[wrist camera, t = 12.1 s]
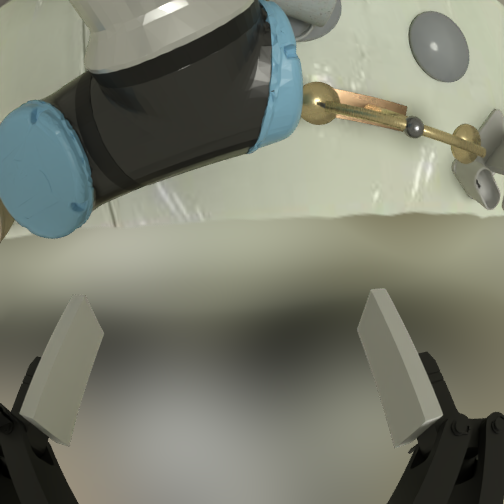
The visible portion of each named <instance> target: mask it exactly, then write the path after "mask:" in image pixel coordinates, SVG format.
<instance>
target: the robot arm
mask: <svg viewBox="0 0 504 504" xmlns="http://www.w3.org/2000/svg"><path fill="white" fill-rule="evenodd" d="M69 1H70V3H71V4H72V5H73V7H74V8H75V10H76V11H77V13H78V14H79V15H80V17H81V18H82V20H83V21H84V22H85V24H86V25H87V27H88V28H89V29H90V38H89V42H88V45H87V49H86V53H85V57H84V65H85V67H86V68H87V70H88V71H86V72H85V73H83V74H82V75H80V76H78V77H77V78H75V79H74V80H72V81H71V82H69V83H68V84H66V85H65V86H63V87H62V88H61V89H59V90H58V91H56V92H55V93H53V94H51V95H50V96H48V97H46V98H44V99H42V100H32V101H28V102H27V103H24V104H22V105H21V106H20V107H19V108H17V109H15V110H13V111H12V112H11V113H9V114H8V115H7V116H6V117H5V119H4V120H3V121H2V123H1V124H0V198H1V200H2V202H3V204H4V206H5V207H6V209H7V210H8V212H9V213H10V214H11V216H12V217H13V218H14V219H15V220H16V221H17V222H18V223H19V224H20V225H21V226H22V227H26V228H27V229H28V230H29V231H30V232H31V233H33V234H35V235H38V236H40V237H44V238H51V239H53V238H61V237H64V236H67V235H69V234H70V233H72V232H73V231H74V230H75V229H77V228H79V227H81V226H82V224H84V223H85V222H86V220H88V218H89V216H90V214H91V212H92V211H93V210H95V209H96V208H98V207H99V206H101V205H102V204H104V203H106V202H108V201H111V200H113V199H115V198H118V197H120V196H122V195H125V194H127V193H129V192H132V191H134V190H136V189H139V188H141V187H144V186H146V185H151V184H154V183H156V182H159V181H162V180H165V179H167V178H170V177H173V176H176V175H179V174H182V173H185V172H188V171H191V170H194V169H197V168H200V167H203V166H206V165H209V164H213V163H216V162H219V161H222V160H226V159H229V158H233V157H236V156H239V155H243V154H250V153H253V152H254V151H256V150H257V149H258V148H261V147H264V146H267V145H270V144H272V143H275V142H278V141H281V140H283V139H285V138H287V137H289V136H290V135H291V134H292V133H293V132H294V130H295V129H296V127H297V125H298V123H299V120H300V117H301V113H302V106H303V78H302V68H301V63H300V59H299V58H298V56H297V54H296V40H295V36H294V33H293V29H292V27H291V24H290V22H289V20H288V18H287V16H286V14H285V12H284V11H283V10H282V8H281V7H280V6H279V5H278V4H276V3H275V2H272V1H265V0H69ZM357 331H358V334H359V337H360V339H361V342H362V345H363V348H364V351H365V354H366V357H367V360H368V362H369V365H370V368H371V371H372V374H373V377H374V380H375V384H376V387H377V390H378V393H379V396H380V400H381V403H382V406H383V409H384V412H385V416H386V420H387V423H388V427H389V430H390V434H391V437H392V441H393V445H394V448H396V447H400V446H403V445H406V444H409V443H411V442H412V441H414V440H415V439H416V438H417V440H418V444H416V445H415V446H414V447H413V448H411V449H410V451H409V452H408V453H409V454H410V453H412V452H413V451H414V452H413V454H412V457H411V459H410V461H409V463H408V465H407V467H406V469H405V471H404V473H403V476H402V477H401V480H400V481H399V483H398V485H397V487H396V489H395V491H394V493H393V495H392V496H391V498H390V500H389V501H388V503H387V504H503V499H504V415H503V414H502V413H499V412H494V413H492V414H491V415H489V416H488V417H487V418H483V419H468V417H467V416H465V415H463V414H460V413H459V412H458V411H457V409H456V407H455V405H454V402H453V400H452V397H451V395H450V392H449V390H448V388H447V385H446V383H445V381H444V380H443V376H442V374H441V373H440V370H439V367H438V365H437V363H436V361H435V360H434V359H433V357H432V356H431V355H430V354H429V353H428V352H424V353H419V354H418V353H417V351H416V349H415V347H414V345H413V342H412V340H411V338H410V336H409V334H408V332H407V330H406V328H405V326H404V324H403V321H402V320H401V318H400V316H399V314H398V312H397V310H396V308H395V306H394V304H393V302H392V300H391V299H390V296H389V295H388V292H387V291H386V289H385V288H381V289H371V290H370V293H369V296H368V299H367V302H366V306H365V308H364V311H363V314H362V317H361V320H360V323H359V325H358V328H357ZM103 335H104V333H103V331H102V329H101V327H100V325H99V323H98V321H97V319H96V317H95V315H94V313H93V310H92V308H91V306H90V304H89V302H88V300H87V297H86V295H73V296H72V298H71V299H70V301H69V303H68V305H67V307H66V308H65V310H64V312H63V314H62V316H61V318H60V320H59V322H58V324H57V326H56V328H55V330H54V332H53V334H52V336H51V338H50V340H49V342H48V344H47V347H46V349H45V351H44V353H43V355H42V357H36V358H35V359H34V361H33V362H32V363H31V364H30V366H29V368H28V370H27V373H26V376H25V377H24V380H23V384H21V387H20V390H19V392H18V394H17V397H16V400H15V403H14V405H13V408H12V410H11V412H10V411H9V410H8V409H7V408H5V407H4V406H3V405H2V404H1V403H0V504H78V502H77V500H76V498H75V496H74V494H73V493H72V491H71V489H70V487H69V485H68V483H67V481H66V479H65V477H64V475H63V473H62V471H61V469H60V466H59V464H58V462H57V459H56V458H55V455H54V452H53V450H52V448H51V445H50V444H49V442H48V438H50V439H52V440H53V441H55V442H56V443H59V444H62V445H66V446H70V442H71V437H72V434H73V430H74V426H75V422H76V418H77V415H78V411H79V408H80V404H81V401H82V397H83V394H84V390H85V387H86V384H87V381H88V378H89V375H90V372H91V369H92V366H93V363H94V360H95V357H96V354H97V352H98V349H99V346H100V343H101V340H102V338H103Z"/></svg>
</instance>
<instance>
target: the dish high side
mask: <svg viewBox="0 0 504 504" xmlns="http://www.w3.org/2000/svg"><path fill="white" fill-rule="evenodd" d="M409 42H410V47H411V50H412V53H413V55H414V57H415V59H416V61H417V63H418V64H419V66H420V67H421V68H422V69H423V70H424V71H425V72H426V73H427V74H428V75H429V76H431V77H432V78H434V79H436V80H439V81H443V82H454V81H457V80H459V79H460V78H461V77H462V76H463V75H464V74H465V72H466V70H467V68H468V64H469V49H468V45H467V42H466V39H465V37H464V35H463V33H462V31H461V30H460V28H459V27H458V26H457V25H456V24H455V23H454V22H453V21H452V20H451V19H450V18H449V17H447V16H445V15H443V14H441V13H438V12H433V11H431V12H424V13H421V14H419V15H418V16H416V17H415V18H414V20H413V21H412V23H411V26H410V30H409Z"/></svg>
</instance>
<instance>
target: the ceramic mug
mask: <svg viewBox="0 0 504 504" xmlns="http://www.w3.org/2000/svg"><path fill="white" fill-rule="evenodd" d="M265 1H272V2H275V3H276V4H278V5H279V6H280V7H281V8H282V10H283V11H284V12H285V14H286V16H290V17H293V18H296V19H299V20H301V21H304V22H307V23H310V24H311V25H310V26H309V28H308V29H307V30H306V31H305V32H304V33H303V34H302V35H300V36H297V37H295V40H296V41H299V40H301V39H303V38H305V37H306V36H307V35H308V34H309V33H310V32H311V31H312V30H313V28H314V26H318V27H323V26H324V25H325V24H326V23H327V21H328V20H329V18H330V16H331V14H332V12H333V10H334V7H335V5H336V2H337V0H265Z"/></svg>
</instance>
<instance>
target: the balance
mask: <svg viewBox="0 0 504 504" xmlns="http://www.w3.org/2000/svg"><path fill="white" fill-rule="evenodd" d="M406 111H407V106H404V105H400V104H397V103H393V102H390V101H386V100H382V99H378V98H374V97H370V96H366V95H361V94H357V93H352V92H347V91H342V90H337V89H333V88H332V87H331V86H330V85H328V84H325V83H322V82H311V83H308V84H306V85H304V86H303V106H302V113H301V117H302V118H303V119H304V120H306V121H307V122H309V123H311V124H315V125H322V124H326V123H329V122H331V121H332V120H333V119H334V118H341V119H346V120H352V121H357V122H362V123H367V124H372V125H376V126H381V127H385V128H390V129H394V130H398V131H402V132H403V131H404V132H405V134H406V135H407V136H409V137H410V138H419V137H421V136H425V137H428V138H431V139H434V140H437V141H440V142H443V143H446V144H449V145H451V150H452V154H453V156H454V157H455V159H456V160H458V161H459V162H461V163H463V164H469V163H472V162H473V161H474V160H475V159H476V158H477V156H480V157H482V158H484V157H485V156H486V149H485V148H484V147H481V138H480V135H479V132H478V131H477V129H476V128H475V127H473V126H471V125H469V124H462V125H460V126H458V127H457V128H456V129H455V131H454V133H453V135H452V134H449V133H446V132H443V131H441V130H438V129H435V128H432V127H429V126H426V125H424V124H423V122H422V121H421V120H420V119H419V118H418V117H415V116H409V117H408V116H406Z"/></svg>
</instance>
